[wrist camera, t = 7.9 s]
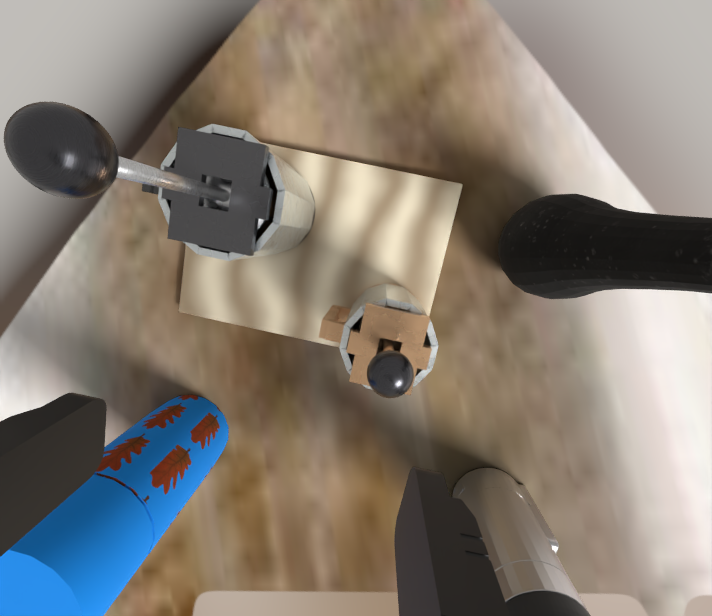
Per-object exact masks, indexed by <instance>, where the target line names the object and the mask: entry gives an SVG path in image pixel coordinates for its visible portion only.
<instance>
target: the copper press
mask: <svg viewBox="0 0 712 616" xmlns="http://www.w3.org/2000/svg"><path fill="white" fill-rule="evenodd" d="M384 306H391V307H396V308H401V309H405V310H409V311H410V312H407V311H403V310H398V309H393V308H389V307H384ZM363 314H364V315H363ZM362 315H363V320H362V324H361V329H360V331H359V330H358V327H359V322H360V318H361V316H362ZM319 338H323V339H324V340H329V341H333V342H338V343H340V348H339V349H340V352H341V355H342V358H343V361H344V364H345V367H346V370H347V372H348V373H349V374H350V380H349V382H353V383H358V384H362V385H363V386H364V387H365V388H368V389H372V388H371V387H370V385H369V383H368V380H367V368H368V365H369V362H370V361H371V359H372V358H373V357H374V356H375V355H376V352H377V348H378V343H379V339H380V338H385V339H389V340H394V341H398V342H401V346H400V350H399V352H400V353H402V354H403V355H405V356H406V357H407V358H408V359H409V361H410V362H411V364H412V366H413V370H414V379H413V382H412V385H411V387H410V388H409V390H408V391H407V392H406V393H404V394H407V395H411V391H412V387H414V386H416V385H417V384H418V383H419V382H420V381H421V380H422V379H423V378H424V377H425V376H426V375H427V374H428V373H429V372H430V371H431V370H432V368H433V365H434V361H435V357H436V353H437V350H438V342H437V339H436V335H435V332H434V329H433V325H432V322H431V320H430V317H429V316H428V315H427V314H426V312H425V310H424V309H423V307H422V305H421V304H420V302H419V300H418V299H417V298H416V297H414V295H413V294H412V293H411V292H409V291H408V290H407V289H406V288H405V287H401V286H399V285H396V284H390V283H383V284H378V285H374V286H372V287H370V288H368V289H366V290H365V291H364V292H363V293H362V294H361V295H360V296H359V297H358V299H357V300H356V301H355V302H354V303H353V306H352V308H348V307H344V306H339V305H338V306H337V305H332V306H331V308H330V309H329V311H328V312H327V313H326V315H325V316H324V317H323V319H322V322H321V327H320V333H319ZM372 390H373V389H372Z"/></svg>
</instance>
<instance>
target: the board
mask: <svg viewBox="0 0 712 616" xmlns="http://www.w3.org/2000/svg"><path fill="white" fill-rule="evenodd" d="M262 144H264V145H267V146H268V147H269V149H270V150H271V151H272V152H274V153H275V154H276V155H277V156H279V157H280V158H281V159H282V160H284V161H285V162H286V163H287V164H289V165H290V166H291V167H292V168H293V169H294V170H295V171H296V172H297V173H299V174H300V175H301V176H302V177H303V178H304V179H305V180H306V181H307V182H308V185H309V187H310V189H311V191H312V193H313V196H314V200H315V219H314V223H313V226H312V228H311V230H310V232H309V234H308V235H307V237H306V238H305V239H304V240H303V241H302V242H301V243H300V244H299V245H297V247H295V248H292V249H290V250H287V251H283V252H280V253H277V254H273V255H266V256H259V257H253V258H246V259H239V260H233V261H226V260H222V259H217V258H212V257H208V256H203V255H199V254H196V253H195V252H194V251H193V250H192V249H191V248H189V247H188V246H187V245H186V248H185V258H184V267H183V277H182V286H181V295H180V305H179V312H181V313H186V314H190V315H195V316H200V317H204V318H209V319H213V320H218V321H222V322H227V323H231V324H236V325H240V326H245V327H249V328H254V329H258V330H263V331H267V332H272V333H276V334H281V335H285V336H290V337H295V338H299V339H304V340H308V341H313V342H317V343H322V344H326V345H331V346H335V347H340V343H338V342H333V341H329V340H324V339H323V338H319V333H320V327H321V322H322V319H323V317H324V316H325V315H326V313H327V312H328V311H329V309H330V308H331V306H332V305H337V306H338V305H339V306H344V307H348V308H352V306H353V303H354V302H355V301H356V300H357V299H358V297H359V296H360V295H361V294H362V293H363V292H364V291H365V290H366V289H368V288H370V287H372V286H374V285H378V284H383V283H390V284H396V285H399V286H401V287H405V288H406V289H407V290H408V291H409V292H411V293H412V294H413V295H414V297H416V298H417V299H418V300H419V302H420V304H421V305H422V307H423V309H424V310H425V312H426V314H427V315H428V316H429V315H430V311H431V307H432V303H433V299H434V295H435V291H436V287H437V283H438V279H439V275H440V272H441V268H442V264H443V260H444V256H445V252H446V248H447V244H448V240H449V236H450V233H451V229H452V225H453V221H454V217H455V213H456V209H457V205H458V201H459V197H460V194H461V190H462V186H463V184H460V183H455V182H450V181H445V180H440V179H435V178H431V177H426V176H421V175H416V174H411V173H406V172H401V171H397V170H392V169H387V168H382V167H377V166H372V165H368V164H363V163H358V162H353V161H348V160H343V159H338V158H334V157H329V156H324V155H319V154H314V153H309V152H304V151H300V150H295V149H290V148H285V147H280V146H275V145H270V144H266V143H262Z"/></svg>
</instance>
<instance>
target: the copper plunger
mask: <svg viewBox="0 0 712 616" xmlns="http://www.w3.org/2000/svg"><path fill="white" fill-rule="evenodd" d="M384 307H389V308H393V309H398V310H403V311H407V312H410V311H409V310H405V309H401V308H396V307H391V306H384ZM363 315H364V314H363ZM363 315H362V316H361V318H360V322H359V327H358V330H359V331H360V329H361V324H362V320H363ZM400 346H401V342H398V341H394V340H389V339H385V338H380V339H379V343H378V348H377V352H376V355H375V356H374V357H373V358H372V359H371V361H370V362H369V365H368V368H367V380H368V383H369V385H370V387H371V388H372V389H373V391H374V392H376V393H377V394H378V395H380V396H382V397H386V398H395V397H399V396H401V395H403V394H404V393H406V392H407V391H408V390H409V388H410V387H411V385H412V382H413V379H414V370H413V366H412V364H411V362H410V361H409V359H408V358H407V357H406V356H405V355H403V354H402V353H400V352H399V350H400Z"/></svg>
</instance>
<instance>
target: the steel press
mask: <svg viewBox="0 0 712 616" xmlns="http://www.w3.org/2000/svg"><path fill="white" fill-rule="evenodd" d="M161 170H165V171H168V172H171V173H174V174H177V175H181V176H184V177H187V178H190V179H193V180H197V181H200V182H203V183H206V180H207V176H210V177H215V178H220V179H224V180H229V181H232V186H231V193H230V201H229V209H228V212H226V211H221V210H216V209H212V208H207V207H203V206H204V197H200V196H196V195H191V194H187V193H183V192H178V191H174V190H170V189H165V188H161V187H157V186H152V185H148V184H144V183H143V187H142V191H145V192H149V193H154V194H158V200H159V203H160V205H161V208H162V210H163V213H164V215H165V218H166V220H167V222H168V225H169V229H168V239H173V240H178V241H182V242H184V243H185V244H186V245H187V246H188V247H189V248H191V249H192V250H193V251H194V252H195V253H196V254H199V255H203V256H208V257H212V258H217V259H222V260H226V261H233V260H239V259H246V258H253V257H259V256H266V255H273V254H277V253H280V252H283V251H287V250H290V249H292V248H295V247H297V245H299V244H300V243H301V242H302V241H303V240H304V239H305V238H306V237H307V235H308V234H309V232H310V230H311V228H312V226H313V223H314V219H315V200H314V196H313V193H312V191H311V189H310V187H309V185H308V182H307V181H306V180H305V179H304V178H303V177H302V176H301V175H300V174H299V173H297V172H296V171H295V170H294V169H293V168H292V167H291V166H290V165H289V164H287V163H286V162H285V161H284V160H282V159H281V158H280V157H279V156H277V155H276V154H275V153H274V152H272V151H271V150H270V149H269V147H268V146H267V145H264V144H262V143H261V142H260V141H259V140H257V139H256V138H255V137H254V136H252V135H251V134H250V133H248V132H247V131H245V130H240V129H235V128H231V127H226V126H221V125H216V124H210V125H208V126H205V127H203V128H200V129H198V130H191V129H186V128H181V127H178V135H177V142H176V144H175V145H174V147H173V148H172V149H171V151H170V152H169V154H168V155H167V157H166V158H165V159H164V161H163V162H162V165H161ZM265 174H266V176H267V178H268V181H269V184H270V188H266V187H264V180H265ZM259 219H263V220H266V222H265V223H264V225H263V226H262V228H261V229H260V230H259V231H258V232H257V228H258V221H259Z"/></svg>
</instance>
